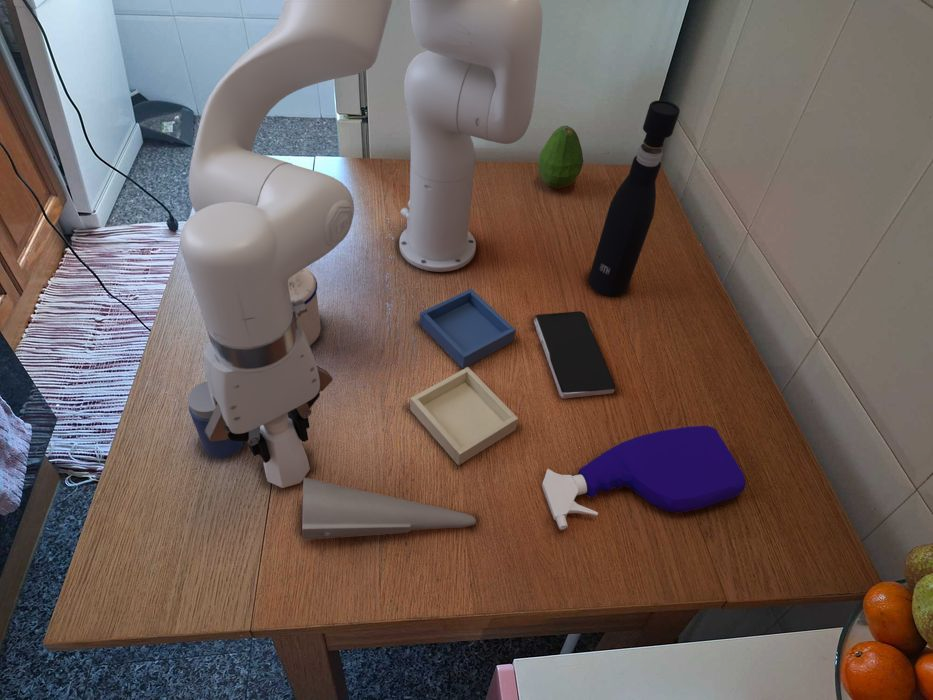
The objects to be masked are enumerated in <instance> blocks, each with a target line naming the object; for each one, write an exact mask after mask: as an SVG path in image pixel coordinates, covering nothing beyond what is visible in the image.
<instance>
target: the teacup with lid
mask: <svg viewBox="0 0 933 700" xmlns="http://www.w3.org/2000/svg"><path fill="white" fill-rule="evenodd" d="M288 287H289V292H290V298H291V302H292V301H294V302H295V301H298V300H300V299H302V300H303V301H304V303H305V305H306V308H307V312H305V313H303V314H301V316H300V317H298V319H297V321H298V323H299V325H300V326H301V328H302V330H303V332H304V334H305V336H306V338H307V340H308V343H309V345H310V346H311V345H313V344H314V343H315V342H316V341H317V339H318V338H319V336H320V334H321V329H322V327H321V318H320V309H319V301H318V295H317V292H318V281H317V279H316V277H315V276H314V274H313V272H312V271H311V270H310V269H309V268H307V267H306V268H304V269H302V270H301V271H299V272H298V273H296V274H294V275H293V276H291V277H290V278H289V280H288Z"/></svg>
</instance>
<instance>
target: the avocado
mask: <svg viewBox="0 0 933 700" xmlns="http://www.w3.org/2000/svg"><path fill="white" fill-rule="evenodd" d="M583 156H584V155H583V148H582V145H581V142H580V138H579V136H578V134H577V132H576V131H575V130H574V128H573V127H571V126H569V125H562V126H559V127H558V128H556V129H555V130H554V131H553V132H552V134H551V135H550V137H548V140H547V141H546V142H545V144H544V146H543V148H542V149H541V152H540V154H539V158H538V173H539V175H540V179H541V180H542V182H543V184H544V185H546V186H547V187H549V188H553V189H563V188H565V187H568V186H569V185H572V184H573V183H574V182H575V181H576V180H577V178H578V177H579V175H580V173H581V171H582V168H583V164H584V157H583Z"/></svg>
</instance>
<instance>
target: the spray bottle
mask: <svg viewBox="0 0 933 700" xmlns="http://www.w3.org/2000/svg"><path fill="white" fill-rule="evenodd" d="M746 485H747V482H746V478H745V474H744V472H743V470H742V469H741V467H740V465H739V464H738V462H737V461H736V459H735V457H734V456H733V454H732V452H731V451H730V449H729V448H728V446H727V445H726V443H725V442H724V440H723V438H722V437H721V435H720V434H719V432H718V431H717V429H716V428H715V427H712V426H709V425H708V426H707V425H694V426H683V427H677V428H672V429H671V428H670V429H663V430H659V431H655V432H651V433H646V434H643V435H639V436H637V437H633V438H630V439H628V440H625V441H623V442H621V443H618V444H617V445H615V446H613V447H612V448H609V449H608V450H606V451H604V452H602V453H601V454H600V455H598V456H597V457H595V458H594V459H592V460H591V461H590V462H587V464H585V465H583V466H582V467H581V468H579V469H578V473H577V474H574V475H572V474H560V473H557V472H554V471H553V470H551V469H550V468H547V469H546V472H545V474H544V478H543V481H542V484H541V489H542V491H543V493H544V496H545V500H546V502H547V504H548V507H549V510H550V513H551V515H552V519H553V520H554V521H556V524H557V527H558V529H559V530H561V531H562V530H566V529H567V528H568V527H569V526H568V522H567V516H568V514H583V515H591V516H595V517H598V515H599V512H598V511H595V510H594V509H591V508H589V507H586V506H583V505H581V504H578V503H577V502H576V501H575V499H576V497H577V496H580V495H585V496H586V497H588V498H591V499H592V498H595V497H596V496H597V495H598V494H599V493H600V492H610V491H612V489H621V488H623V487H627V488H630V489H631V490H632V491H633V492H634V493H635V494H637V495H638V496H640V498H642V499H643V500H645V501H646V502H648V503H649V504H650V505H652V506H654V507H656V508H658V509H659V510H662V511H665V512H671V513H676V514H679V513H685V512H689V511H694V510H695V511H696V510H700V509H704V508H707V507H710V506H713V505H717V504H720V503H723V502H726V501H728V500H732V499H734V498H736V497H737V496H739V495H740V494H742V493H743V492H744V491H745V489H746Z"/></svg>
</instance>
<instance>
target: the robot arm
mask: <svg viewBox="0 0 933 700" xmlns="http://www.w3.org/2000/svg"><path fill="white" fill-rule="evenodd" d="M408 1H409V10H410V11H409V12H410V21H411V29H412V32H413V36H414V38H415V41H416V42H417V43H418V45H419V46H420V47H422V48H423V49H424V51H422V52H420V53H418V54H417V55H415V56H414V57H413V58H412V60H411V61H410V62H409V64H408V66H407V69H406V71H405V74H404V82H403V91H404V92H403V94H404V102H405V107H406V112H407V118H408V125H409V126H408V127H409V138H410V139H409V140H410V155H409V156H410V157H409V158H410V159H409V160H410V162H409V200H408V201H407V207H408V208H409V209H408V208H407V207H402V208H401V210H400V214H401V216H402V217H403V218H405V219H406V228H405V229H404V230H403V231H402V233H401V234H400V237H399V243H398V244H399V245H398V246H399V251H400V254H401V255H402V257H403V258H404V259H405V261H407V263H409V264H411V265H412V266H414V267H416V268H418V269H420V270H424V271H429V272H435V273H436V272H437V273H444V272H445V273H446V272H453V271H455V270H459V269H461V268H463V267H465V266H466V265H468V264H469V263H470V262H471V261H472V260H473V258H474V257H475V254H476V249H477V243H476V242H477V241H476V239H475V237H474V235H473V234H472V233H471V231H470V230H469V227H470V217H471V216H470V215H471V206H472V196H473V187H474V177H475V167H476V150H475V146H474V142H473V139H472V137H474V138H477V139H481V140H485V141H489V142H493V143H496V144H497V143H498V144H504V145H511V144H514V143H517V142H518V141H519V140H521V138H522V137H524V135H525V134H526V132H527V131H528V128H529V126H530V123H531V119H532V116H533V111H534V105H535V97H536V88H537V80H538V69H539V61H540V52H541V43H542V35H543V34H542V31H543V8H542V7H543V6H542V3H541V0H408ZM392 3H393V0H283V4H282V8H281V12H280V15H279V19H278V21H277V23H276V24H275V26H274V27H273V28H272V29H271V31H269V33H268V34H266V35H265V36H264V37H263V38H261V39H260V40H259V41H257V42H256V43H254V45H252V46H251V47H249V49H248V50H246V51H245V52H244V53H243V54H242V55H241V56H240V57H239V58H238V59H237V60H236V61H235V62H234V63H233V64H232V66H231V67H230V68H229V69H228V70H227V71H226V73H224V75H223V76H222V77H221V78H220V80H219V81H218V82H217V84H216V85H215V87H214V88H213V89H212V91H211V93H210V94H209V96H208V98H207V100H206V102H205V104H204V107H203V110H202V114H201V117H200V120H199V124H198V130H197V133H196V137H195V142H194V146H193V151H192V155H191V160H190V163H189V164H190V165H189V171H188V195H189V200H190V203H191V206H192V208H193V210H194V212H195V213H193V214H192V215H191V216H190V217H188V218H187V220H186V221H185V223H184V224H183V226H182V228H181V231H180V236H179V237H180V238H179V247H180V250H181V254H182V258H183V261H184V264H185V268H186V271H187V274H188V276H189V279H190V282H191V283H190V284H191V285H192V286H191V287H192V289H193V292H194V295H195V298H196V300H197V304H198V308H199V310H200V314H201V317H202V320H203V322H204V325H205V328H206V332H207V335H208V338H209V341H208V342H207V343H206V344H205V346H204V352H203V363H204V364H203V365H204V371H205V372H204V373H205V378H206V382H207V383H208V388H209V392H210V396H211V399H212V402H213V404H214V407H215V409H214V411H213V414H212V416H211V418H210V420H209V422H208V424H207V427H206V429H205V434H206V435H207V437H208V438H209V440H210V441H212V442H213V441H222V440H226V439H230V440H231V441H243V442H244V443H246V444H247V447H248V449H249V451H250V453H251V454H252V456H253V457H257V456H260V458H261V460H262V461H264V462H265V463H267V462H269V461H270V459H271V458H270V454H269V450H268V447H267V443H266V441H265V439H264V437H263V436H262V434H261V432H260V427H261V426H262V425H263V424H265V423H267V422H269V421H271V420H273V419H275V418H277V417H279V416H281V415H283V414H285V413H287V412H288V418H290V419H292V421H293V423H294V426H295V429H296V431H297V434H298V437H299V438H300V440H301V443H306V442H308V441H309V440H310V439H309V434H308V430H309V429H310V421H309V417H311V415H312V409H311V408H312V407H313V406H314V404H315V403H316V401H317V400H318V399H319V397H320V396H321V392H323V391H324V390H325V389H326V388H327V387H328V386H329V385H330V384H331V383H332V382H333V381H334V378H333V377H332V375H331V374H330V373H329V371H328V370H326V369H324V368H322V367H321V366H319V365H317V363H316V360H315V356H314V354H313V351H312V349H311V345H309V343H308V340H307V338H306V336H305V334H304V332H303V330H302V328H301V326H300V325H299V323H298V321H297V319H298V317H300V316H301V314H303V313H305V312H307V308H306V305H305V303H304V301H303V300H302V299H300V300H298V301H295V302H294V301H292V302H291V298H290V292H289V287H288V280H289V278H290V277H291V276H293V275H294V274H296V273H298V272H299V271H301V270H302V269H304V268H307V267H309V266H311V265H312V264H314V263H315V262H317V261H319V260H320V259H322V258H323V257H325V256H327V254H329V253H331V252H332V251H333V250H334V249H335V248H336V247H337V246H338V245H339V244H340V243H342V242H343V240H345V238H346V237H347V235H348V233H349V232H350V229H351V227H352V224H353V219H354V215H355V204H354V198H353V196H352V194H351V192H350V190H349V189H348V186H346V185H345V184H344V183H343V182H342V181H341V180H338V179H336V178H335V177H334V176H331V175H328V174H326V173H323V172H319V171H318V170H317V171H316V170H313V169H309V168H306V167H303V166H299V165H296V164H293V163H292V162H288V161H285V160H281V159H277V158H274V157H271V156H268V155H265V154H262V153H258V152H254V151H253V149H254V145H255V141H256V137H257V135H258V132H259V130H260V128H261V125H262V123H263V122H264V121H265V118H266V117H267V116H268V114H269V113H270V112H271V110H272V109H273V108H274V107H275V106H276V105H277V104H278V103H279V102H281V101H282V100H283V99H285V98H286V97H288V96H289V95H291V94H293V93H295V92H297V91H300V90H302V89H305V88H306V87H310V86H314V85H317V84H320V83H325V82H328V81H332V80H337V79H341V78H345V77H346V78H347V77H350V76H351V77H352V76H355V75H358V74H362V73H364V72H366V71H368V70H369V69H371V68H372V67H373V66H374V65H375V63H376V62H377V59H378V56H379V52H380V48H381V44H382V41H383V37H384V33H385V29H386V25H387V22H388V18H389V15H390V10H391V7H392ZM425 50H426V51H425ZM264 462H263V463H264Z"/></svg>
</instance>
